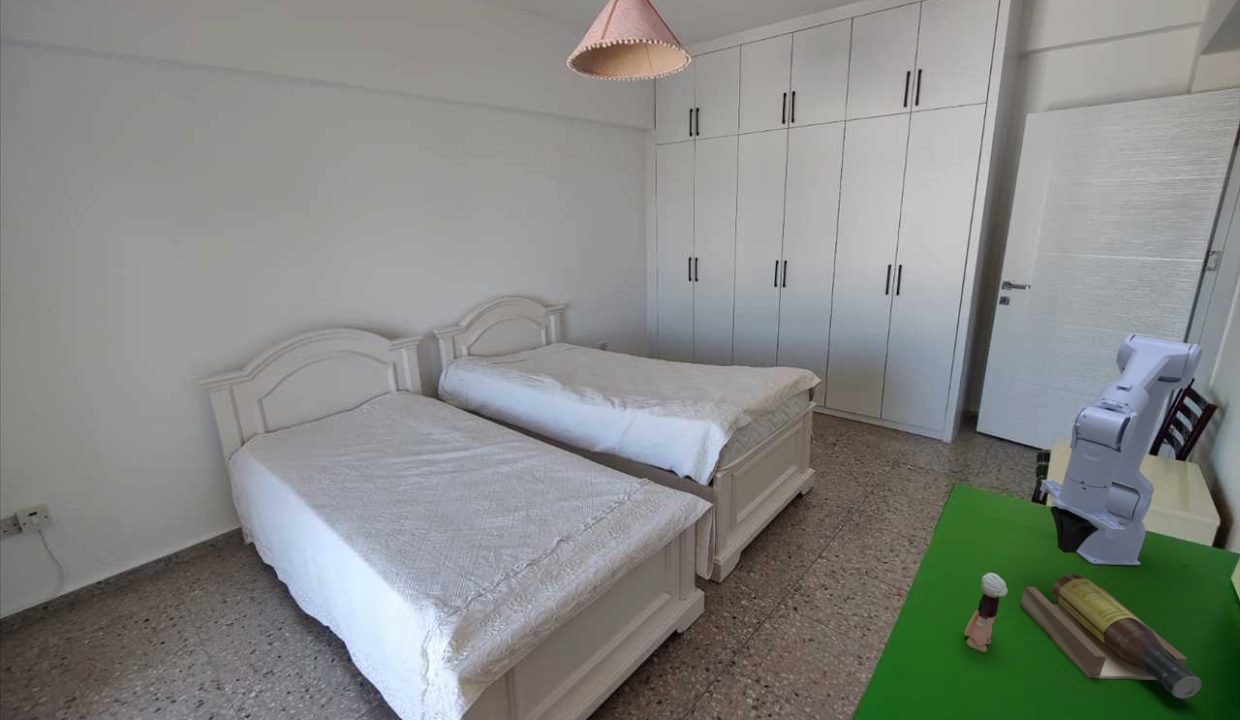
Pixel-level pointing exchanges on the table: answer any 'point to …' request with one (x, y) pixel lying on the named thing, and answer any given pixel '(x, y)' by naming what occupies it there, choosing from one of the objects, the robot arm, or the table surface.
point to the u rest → (1085, 640)
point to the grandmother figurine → (985, 612)
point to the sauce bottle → (1123, 633)
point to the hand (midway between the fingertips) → (1066, 550)
